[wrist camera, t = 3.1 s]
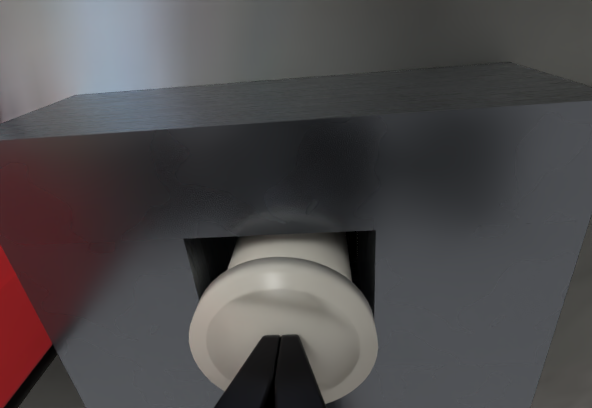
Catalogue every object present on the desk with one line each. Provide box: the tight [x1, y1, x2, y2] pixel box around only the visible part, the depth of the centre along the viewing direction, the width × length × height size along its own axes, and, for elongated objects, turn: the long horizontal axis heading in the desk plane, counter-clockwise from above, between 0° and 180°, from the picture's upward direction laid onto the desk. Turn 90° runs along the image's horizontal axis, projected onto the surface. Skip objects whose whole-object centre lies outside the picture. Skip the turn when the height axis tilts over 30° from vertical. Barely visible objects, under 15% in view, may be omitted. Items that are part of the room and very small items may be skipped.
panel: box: [0, 62, 592, 408], centre depth 15 cm, size 14×22×5 cm, turn 5°
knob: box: [189, 232, 378, 404], centre depth 12 cm, size 4×4×6 cm
